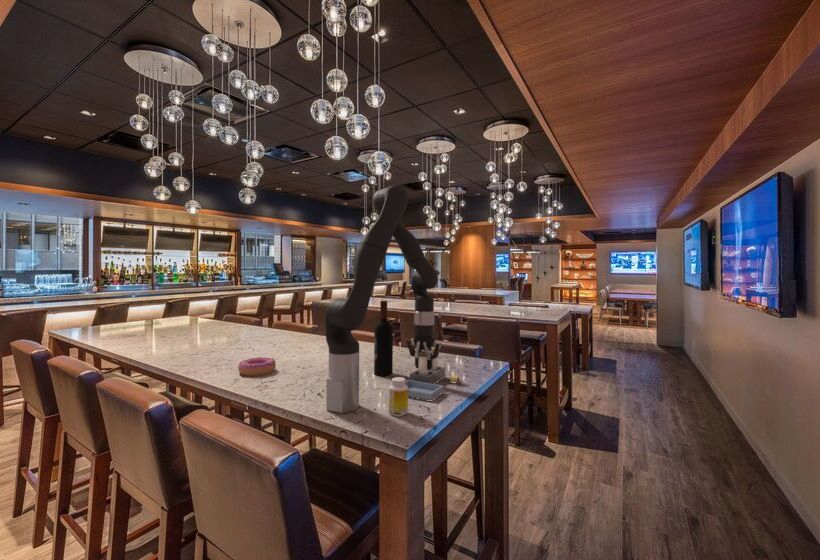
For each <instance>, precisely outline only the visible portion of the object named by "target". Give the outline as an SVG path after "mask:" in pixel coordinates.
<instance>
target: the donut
mask: <svg viewBox="0 0 820 560" xmlns="http://www.w3.org/2000/svg"><path fill="white" fill-rule="evenodd" d="M276 365H277V363H276V360H275V358H272V357H261V356H260V357H251V358H248V359H243V360H242V361H239V364H238V367H237V368H238V372H239V374H241V376H245V375H246V376H247V377H257V376H259V375H260V376H263V375H264V376H265V375H269V374H272V373H273V372H274V371H275V370H276ZM268 373H269V374H268Z"/></svg>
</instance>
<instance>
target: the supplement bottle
mask: <svg viewBox="0 0 820 560" xmlns="http://www.w3.org/2000/svg"><path fill="white" fill-rule="evenodd" d="M405 381H406V378H405V377H402V376H398V377H393V378H392V379H391V384H390V385H389V387H388V413H389V415H391V416H392V415H394V416H393V417H403V415H404V416H406V415H407V414H408V412H409V411H408V410H409V409H408V407H409V404H408V403H409V398H408V386H407V385H405ZM405 414H406V415H405Z"/></svg>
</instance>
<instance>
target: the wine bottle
mask: <svg viewBox="0 0 820 560" xmlns="http://www.w3.org/2000/svg"><path fill="white" fill-rule="evenodd" d="M379 305H380V306H379V308H380V310H379V311H380V312H379V313H380V318H379V321H378V322H377V323H375V325H374V328H373V329H374V330H373V331H374V336H373V337H374V340H373V341H374V347H373V348H374V349H373V353H374V354H373V356H374V359H373V361H374V362H373V363H374V364H373V375H374V376H375V375H376V377H382V378H384V377H385V376H386V377H390V375H391V376H392V375H393V374H394V373H393V369H394V367H393V366H394V365H393V364H394V363H393V361H394V360H393V359H394V357H393V356H394V355H393V351H394V349H393V348H394V347H393V346H394V340H393V339H394V328H393V325H392V323H391V322H390V321H388V300H380V302H379Z"/></svg>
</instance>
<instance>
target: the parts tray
mask: <svg viewBox="0 0 820 560" xmlns="http://www.w3.org/2000/svg"><path fill="white" fill-rule="evenodd" d="M405 385H407V386H408V397H414V398H419V399H424V400H433V399H434V398H436V397H437V396H438V395H439V394H440V393H442V392H443V393H444V385H442V384H441V385H440V384H437V383H436V384H430V383H424V382H418V381H412V380H410V379H407V380H405ZM443 393H442V394H443ZM438 397H439V396H438ZM438 397H437V398H438ZM414 398H413V399H414ZM437 398H436V399H437ZM419 399H418V400H419ZM424 400H423V401H424ZM434 400H435V399H434ZM434 400H433V401H434Z"/></svg>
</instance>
